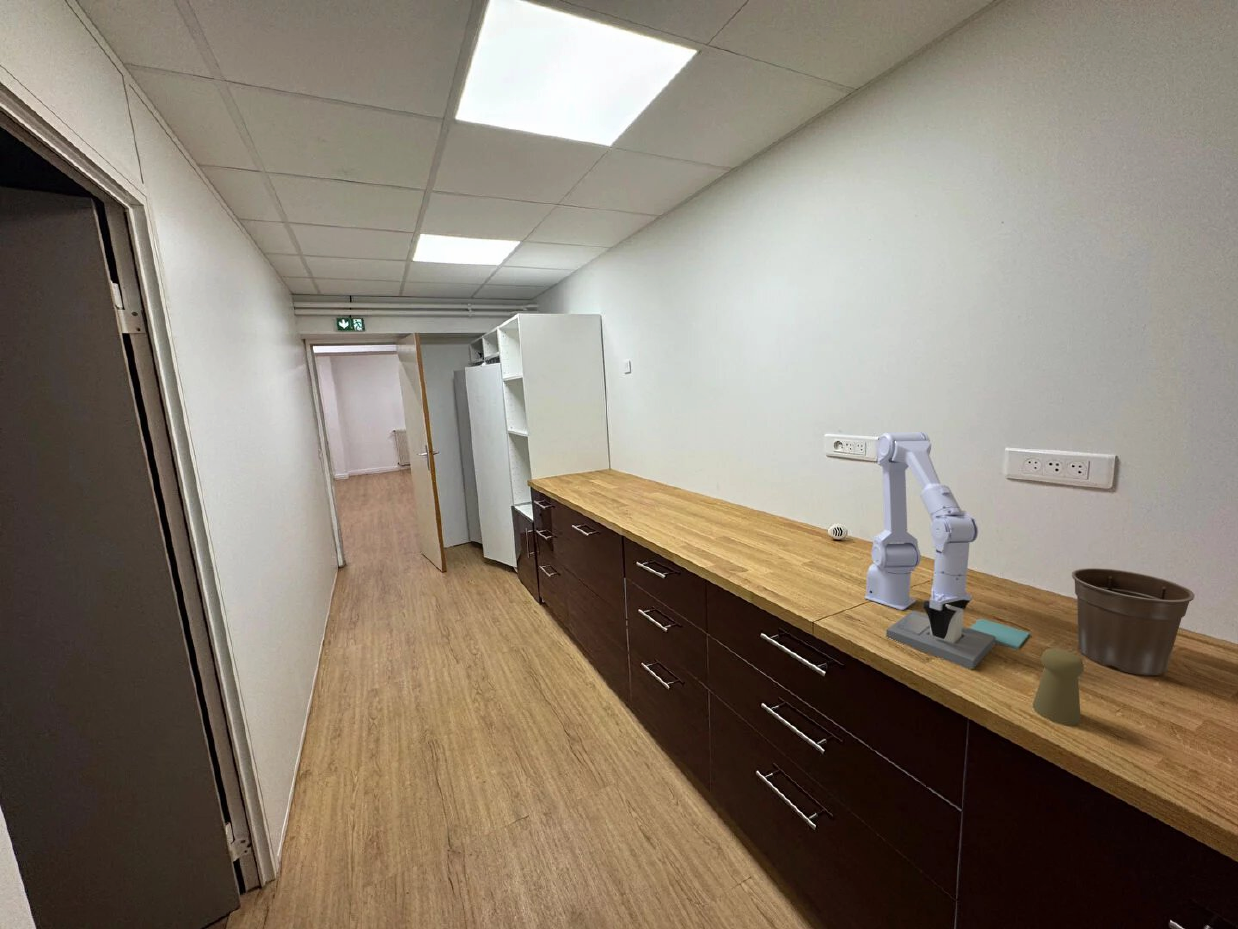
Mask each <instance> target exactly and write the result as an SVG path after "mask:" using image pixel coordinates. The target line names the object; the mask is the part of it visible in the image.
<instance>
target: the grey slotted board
mask: <svg viewBox="0 0 1238 929" xmlns="http://www.w3.org/2000/svg"><path fill="white" fill-rule="evenodd" d="M885 633H886V634H885V635H886V636H885V638H886V637H888V638H891V639H893V640H896V641H898V642H897V643H899V642H900V643H899V644H901V643H903V644H902V645H904V644H907V645H909V646H911V647H910V648H912V647H913V648H912V649H915V650H917V649H918V651H920V650H922V651H921V652H923V651H925V652H926V653H925V652H924V653H925V654H928V653H930V654H929V655H931V654H932V655H931V656H933V655H934V657H936V656H938V657H937V658H939V657H940V658H939V659H942V658H943V659H942V660H944V659H945V661H947V660H948V662H950V663H952V662H954V663H953V664H955V663H956V664H955V665H958V664H959V665H958V666H960V665H961V667H963V668H966V669H969V670H971V669H973V670H974V669H975V667H976V666H978V664H980V662H981V661H982V660H983V659H984V657H986V655H987V654H989V652H990V651H991V650H992V649H993V647H994V646H996V642H995V638H996V636H993V635H990V634H987V633H983V632H980V631H977V630H974V629H971V628H970V627H967V626H964V625H962V634H961V640H959V641H958V642H957V643H956V644H954V643H951V642H948V641H945V640H942V639H939V638H936V637H933V636H930V635H929V633H930V621H929V617H928V615H927V613H922V612H919V611H917V610H912V611H910V612H909V613H908V614H906V615H904V617H902V618H901V619H899V620H898V621H897V622H895V623H894V624H892V625H891V626H889V627H888V628H887V629H886V632H885ZM888 638H887V639H888ZM893 640H892V641H893ZM896 641H895V642H896ZM907 645H906V646H907ZM909 646H908V647H909Z"/></svg>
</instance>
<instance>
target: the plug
mask: <svg viewBox="0 0 1238 929" xmlns="http://www.w3.org/2000/svg"><path fill="white" fill-rule="evenodd" d="M946 606H947V608H948V609H952V610H955V611H957V612H956V613H955V614H954V615H953V617H952V619H951V621H950V623H949V627H948V631H947V634H946V637H945V638H944V639H942V638H939V637H936V636H933V634H932V630H931V625H930V633H929V635H930V636H933V637H936V638H939V639H942V640H945V641H948V642H951V643H954V644H956V643H957V642H958V641H959V640H961V634H962V626H963V621H964V619H963V618H964V612H963V610H964V609H961V608H957V607H954V606H951V605H947V604H946ZM964 611H965V610H964Z"/></svg>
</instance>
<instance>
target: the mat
mask: <svg viewBox="0 0 1238 929" xmlns="http://www.w3.org/2000/svg"><path fill="white" fill-rule="evenodd" d="M969 628H971V629H974V630H977V631H980V632H983V633H987V634H990V635H993V636H996V638H995V643H997V644H1000V645H1004V646H1006V647H1009V648H1012V649H1016V650H1019V648H1020V647H1021V646H1022V645H1023V644H1024V642H1025V641H1026V640H1027V639H1028V638H1029V636H1030V632H1029V631H1024V630H1021V629H1018V628H1016V627H1012V626H1008V625H1005V624H1001V623H998V622H995V621H991V620H987V619H984V618H979V619H978V620H977V621H976V622H974V624H973V625H971V626H970V627H969Z"/></svg>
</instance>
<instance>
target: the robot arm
mask: <svg viewBox="0 0 1238 929" xmlns="http://www.w3.org/2000/svg"><path fill="white" fill-rule="evenodd" d="M876 450H877V451H876V453H877V454H876V456H877V458H876V459H877V465H878V466H881V471H882V472H881V473H882V475H881V476H882V497H883V526H884V529H883V531H882V532H879V534H877V535H875V536H874V537H873V539H872V540H873V542H872V548H871V551H870V553H871V554H870V555H871V560H872V561H873V563H872V564H870V565H869V568H868V570H867V573H866V574H867V575H866V587H865V588H866V589H865V590H866V591H865V596H864V599H866V600H869V601H872V602H875V603H878V604H882V605H885V606H887V607H890V608H893V609H897V610H899V611H905V610H906V609H907V608H908V607H910V606H911V605H912V604H914V603H915V602H916V600H917V599H915V598H912V597H910V596H911V595H910V594H911V593H910V592H911V579H912V572H915V568H918V567H919V565H920V563H921V559H922V555H921V554H922V553H921V551H920V549H919V544H918V539H917V538H916V537H915V536H913V535H912V534H911V533H909V532H908V510H907V508H908V507H907V486H906V485H907V483H906V470H907V469H908V468H909V469H910V471H911V472H912V474H913V476H914V477H915V478H916V480H917V482H918V483H919V484H918V485H920V487H921V489H922V491H921V494H920V498H921V501H922V503H923V505H924V507H925V509H926V511H927V513H928V515H929V517H930V520H931V524H930V527H929V531H930V534H931V537H932V545H933V548H934V549H935V550H934V551H935V552H934V566H933V580H932V586H931V589H930V590H931V596H930V599H929V600H925V601H924V602H922V608H923V609H924V611H925V614H926V615H928V617H929V621H930V625H931V630H932V634H933V636H936V637H939V638H942V639H944V638H945V637H946V634H947V631H948V627H949V623H950V621H951V619H952V617H953V615H954V614H955V613H956V612H957V611H955V610H952V609H948V608H947V606H946V604H947V605H951V606H954V607H957V608H961V609H964V610H963V613H964V612H965V610H966V608H967V606H968V605H969V603H970V602H971V601H972V599H973V595H972V594H971V593H967V590H966V589H967V577H968V569H969V568H968V565H969V555H970V554H969V553H970V543H973V542H975V541H976V540H977V538H978V535H979V527H978V523H977V522H976V519H975V518H974V516H972V515H971V514H968V513H967V512H966V511H965V510H962V509H961V507H960V505H959V503H958V501H957V499H956V498H955V496H954V494H953V492H952V490H951V489H950V487H949V486H948V485H945V484H941V482H940V480H939V477H938V474H937V471H936V469H935V467H934V464H933V461H932V460H931V457H930V455H931V451H932V443H931V440H930V438H929V436H928V434H927V433H926V432H925V431H918V432H895V433H894V432H893V433H892V432H891V433H890V432H884V433H882V434H881V436H880V437H879V439H878V440H877V442H876Z"/></svg>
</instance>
